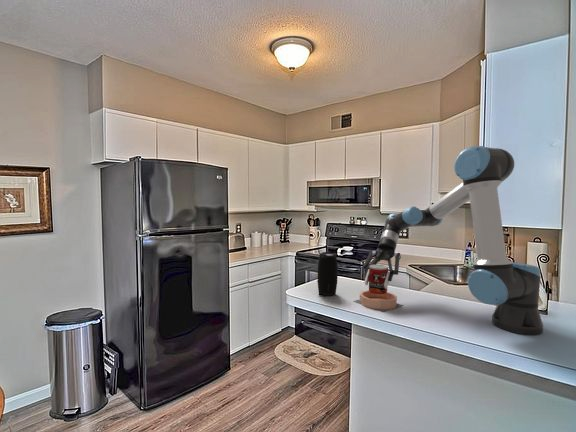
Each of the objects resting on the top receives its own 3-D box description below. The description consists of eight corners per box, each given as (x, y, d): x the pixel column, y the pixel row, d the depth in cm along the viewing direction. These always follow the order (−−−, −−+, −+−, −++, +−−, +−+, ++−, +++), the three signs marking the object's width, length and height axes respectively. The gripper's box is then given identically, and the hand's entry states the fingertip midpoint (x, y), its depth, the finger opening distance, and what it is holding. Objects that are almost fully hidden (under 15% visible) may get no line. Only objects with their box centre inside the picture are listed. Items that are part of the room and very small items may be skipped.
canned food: (366, 292, 138) (367, 267, 138) (371, 288, 145) (372, 263, 145) (385, 295, 135) (386, 269, 134) (388, 290, 142) (389, 265, 141)
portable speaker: (320, 291, 158) (321, 251, 157) (339, 293, 154) (340, 252, 153) (314, 296, 150) (315, 253, 149) (334, 298, 146) (335, 255, 145)
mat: (404, 306, 138) (404, 305, 138) (383, 313, 129) (383, 312, 129) (373, 296, 150) (373, 295, 150) (352, 302, 142) (352, 301, 142)
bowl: (403, 304, 138) (404, 296, 138) (381, 311, 129) (381, 303, 129) (375, 295, 150) (375, 288, 150) (352, 301, 141) (353, 293, 141)
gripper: (412, 250, 146) (401, 294, 134) (368, 245, 157) (354, 285, 145) (410, 239, 141) (399, 284, 129) (364, 235, 152) (350, 276, 140)
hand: (375, 285), depth 137 cm, fingers closed on canned food, 8 cm apart
